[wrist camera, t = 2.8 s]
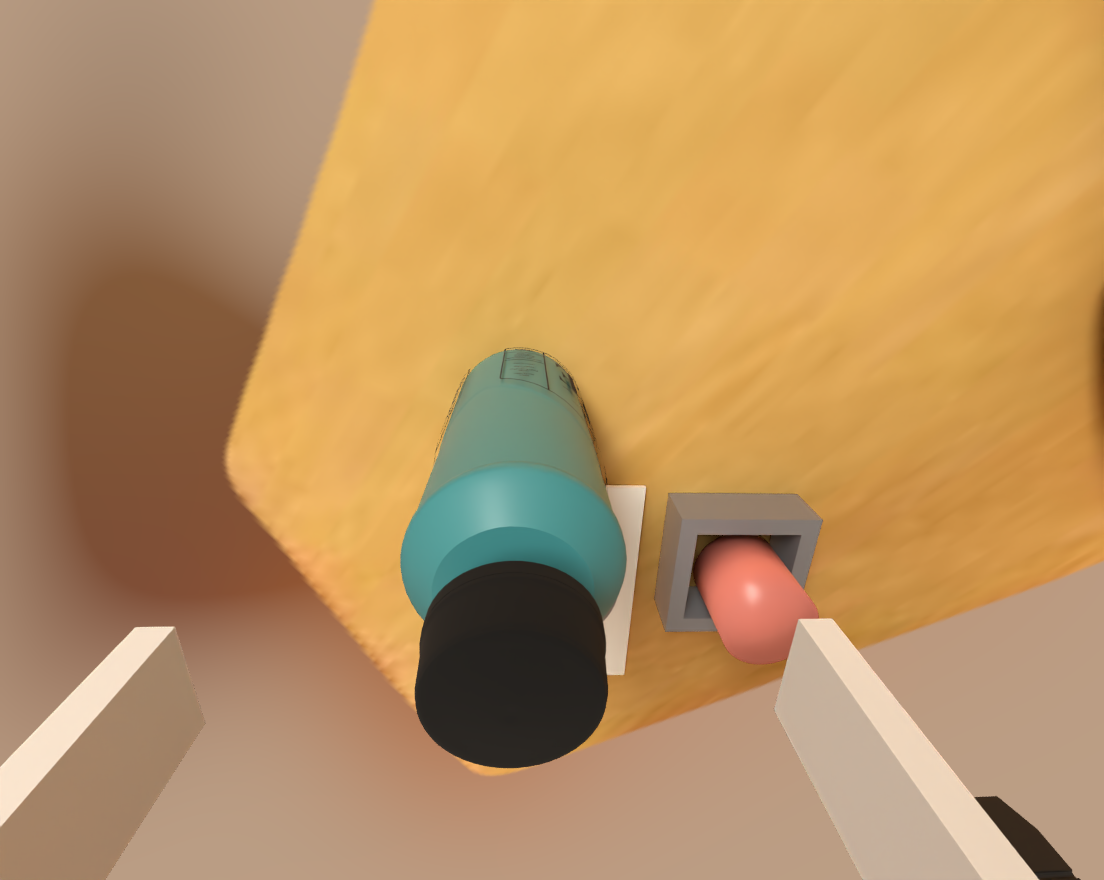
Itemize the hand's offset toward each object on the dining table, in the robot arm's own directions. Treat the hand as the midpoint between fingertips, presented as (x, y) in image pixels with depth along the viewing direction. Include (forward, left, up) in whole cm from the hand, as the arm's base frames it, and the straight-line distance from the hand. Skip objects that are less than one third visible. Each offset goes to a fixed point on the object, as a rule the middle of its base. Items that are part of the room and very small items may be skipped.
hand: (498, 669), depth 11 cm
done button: (+10, +13, -17) cm, 23 cm away
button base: (+10, +13, -19) cm, 25 cm away
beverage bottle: (0, 0, -19) cm, 19 cm away
